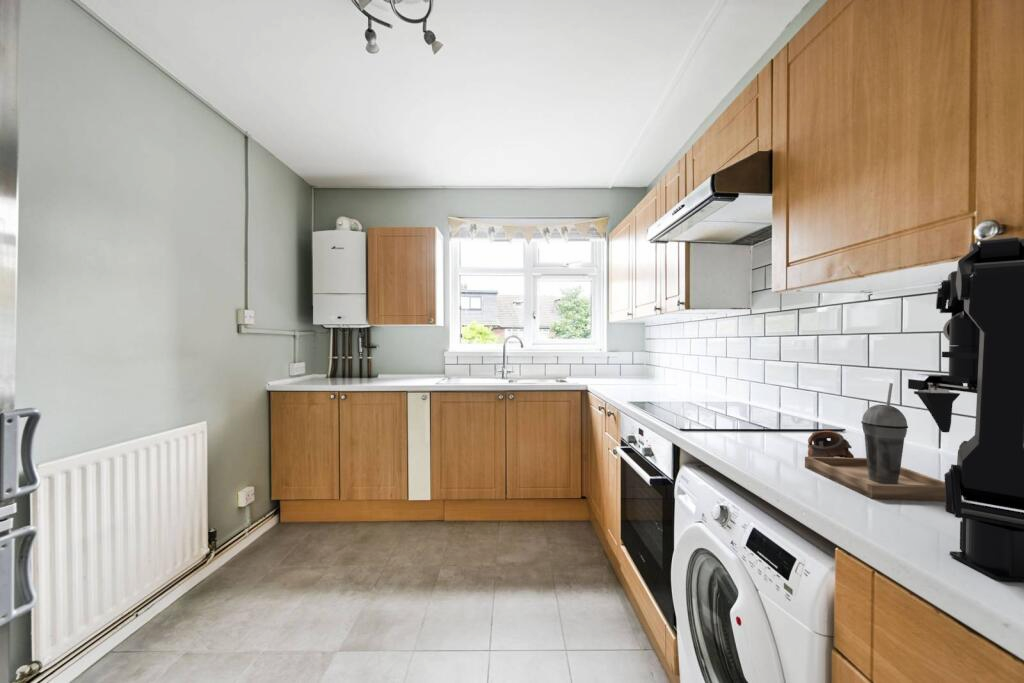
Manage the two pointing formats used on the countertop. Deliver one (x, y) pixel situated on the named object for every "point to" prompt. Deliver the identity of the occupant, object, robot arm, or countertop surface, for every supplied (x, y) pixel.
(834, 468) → the walnut tray
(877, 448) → the beverage cup
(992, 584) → the countertop surface
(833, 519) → the countertop surface
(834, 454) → the brown rounded piece
